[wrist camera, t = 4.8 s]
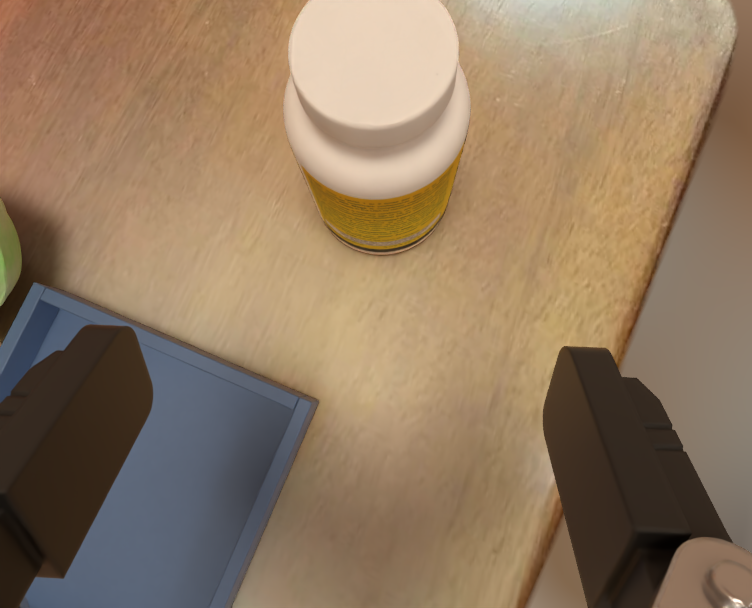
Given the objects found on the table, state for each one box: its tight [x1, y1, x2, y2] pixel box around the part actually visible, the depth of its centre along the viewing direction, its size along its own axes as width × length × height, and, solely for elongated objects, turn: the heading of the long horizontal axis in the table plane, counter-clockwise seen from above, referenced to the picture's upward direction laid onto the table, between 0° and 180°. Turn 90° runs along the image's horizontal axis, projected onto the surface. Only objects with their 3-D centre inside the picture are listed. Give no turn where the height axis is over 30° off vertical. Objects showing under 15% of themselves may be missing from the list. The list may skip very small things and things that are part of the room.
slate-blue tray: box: [0, 282, 319, 608], centre depth 23 cm, size 13×13×2 cm
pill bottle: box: [283, 0, 471, 255], centre depth 20 cm, size 6×6×11 cm
